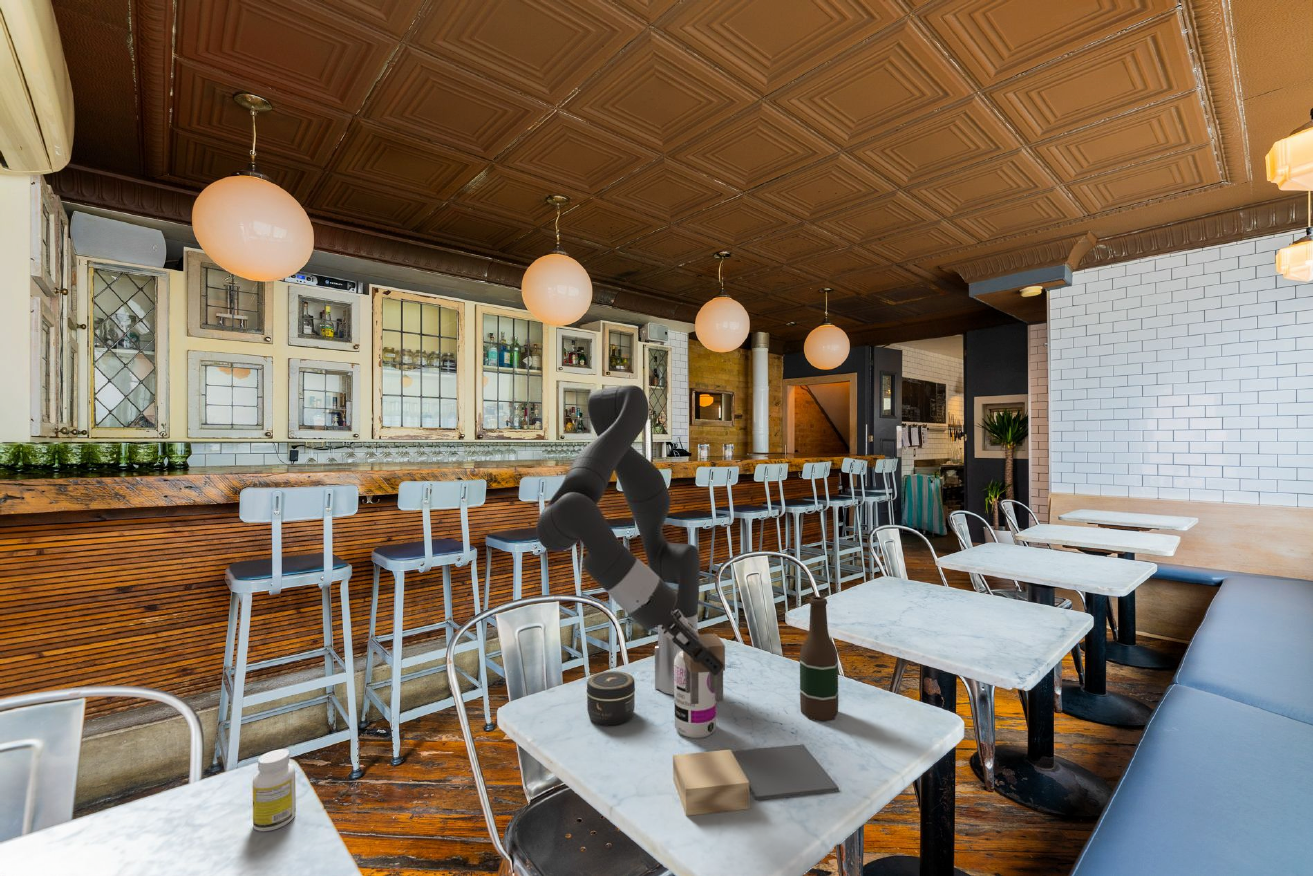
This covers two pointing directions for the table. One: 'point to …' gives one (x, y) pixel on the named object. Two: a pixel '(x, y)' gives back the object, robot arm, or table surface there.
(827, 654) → the beer bottle
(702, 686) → the supplement can
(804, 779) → the mat
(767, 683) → the table surface
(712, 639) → the stool
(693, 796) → the step
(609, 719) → the jar
